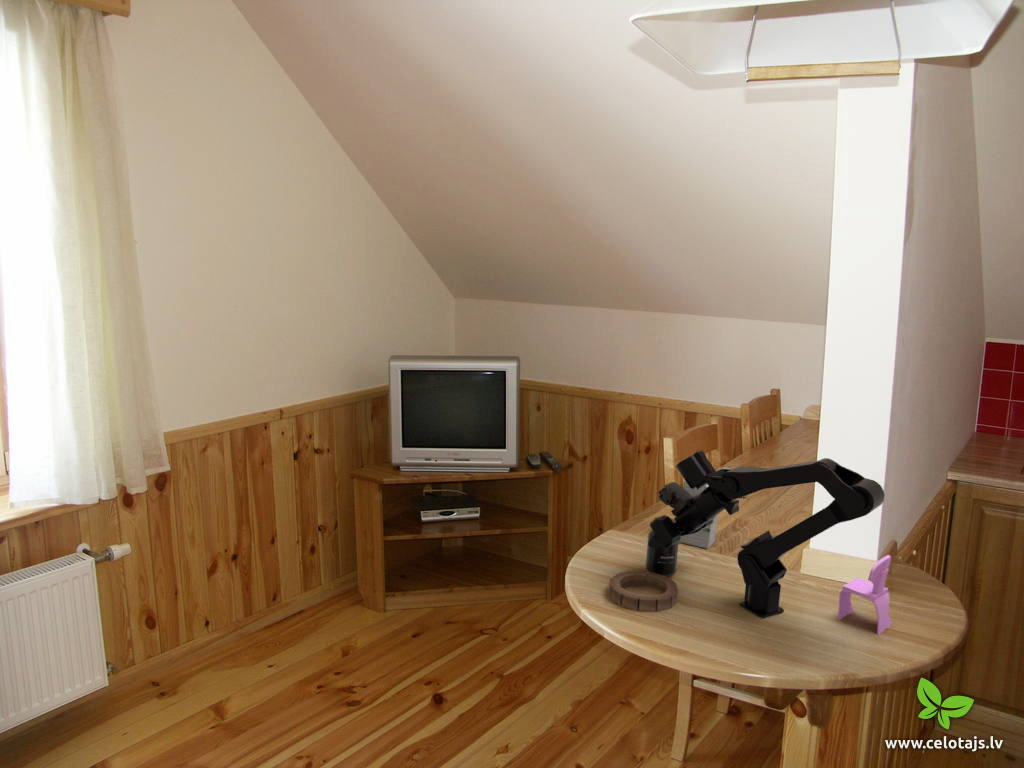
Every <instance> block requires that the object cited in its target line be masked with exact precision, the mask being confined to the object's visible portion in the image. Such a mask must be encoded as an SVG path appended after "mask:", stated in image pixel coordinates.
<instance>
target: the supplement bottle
mask: <svg viewBox="0 0 1024 768" xmlns="http://www.w3.org/2000/svg"><path fill="white" fill-rule="evenodd" d="M659 517H660V516H657V517H656V516H655V517H654V519H653V520H655V519H656V518H659ZM670 519H671V520H672V522H673V523H676V521H675V520H674V518H671V517H670ZM647 534H648V535H647V545H646V555H645V570H646V571H647V573H648V572H652V573H656V574H660V575H663V576H666V577H668V576H673V575H674V574H675V573H676V572H677V566H678V552H679V541H678V542H677V543H675V544H673V545H672V546H670V547H668V548H665V547H664V546H659V547H649V545H648V542H649V541H650V539H651V538H652V536H653V535H654V531H653V530H652V529H650V530H649V532H648V533H647Z"/></svg>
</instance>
